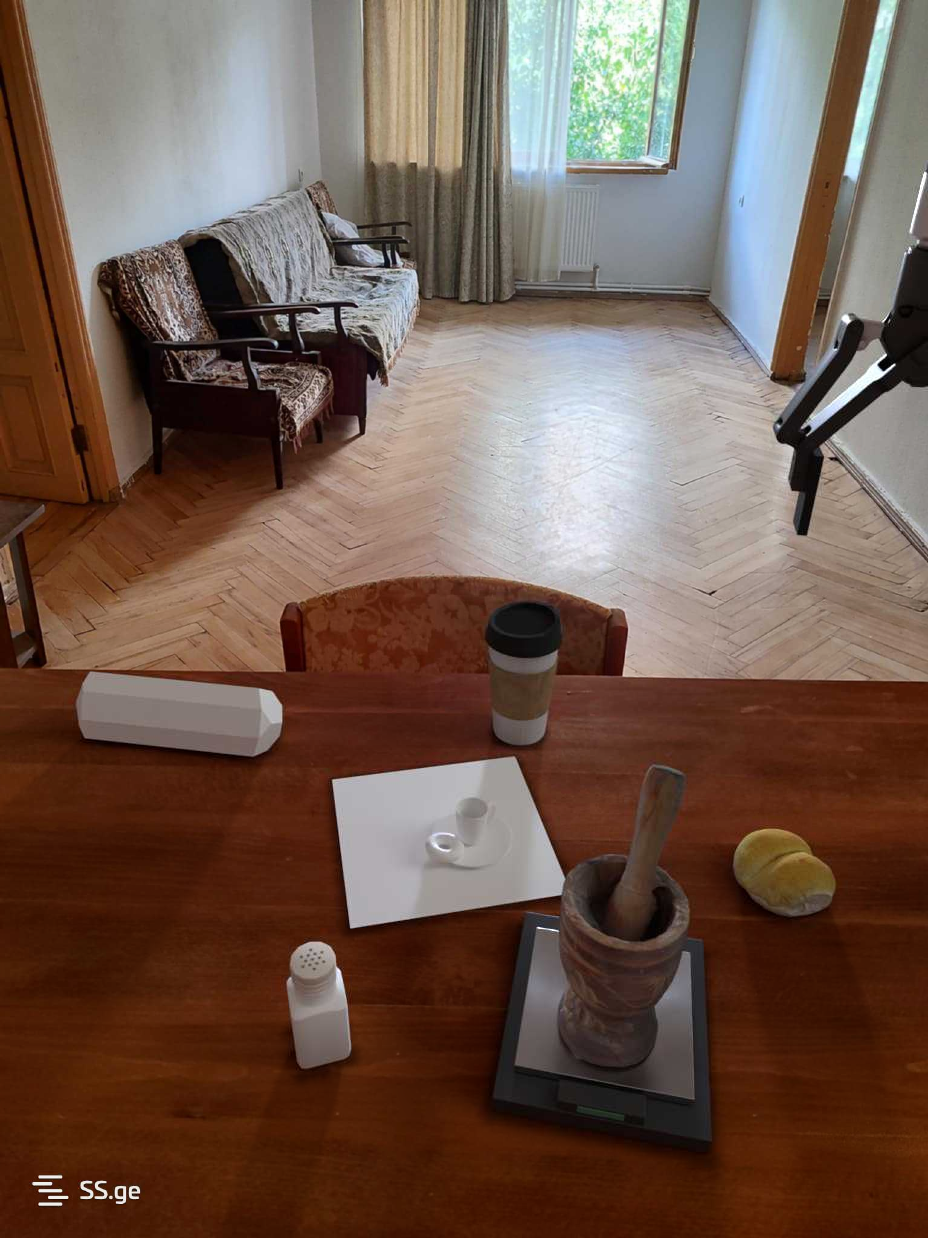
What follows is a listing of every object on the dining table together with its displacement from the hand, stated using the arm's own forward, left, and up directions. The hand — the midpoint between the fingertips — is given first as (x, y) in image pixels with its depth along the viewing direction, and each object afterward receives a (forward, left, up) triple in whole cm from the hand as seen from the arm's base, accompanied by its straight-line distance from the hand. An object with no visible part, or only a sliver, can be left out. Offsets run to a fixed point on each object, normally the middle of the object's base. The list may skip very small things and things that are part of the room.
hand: (889, 536), depth 70 cm
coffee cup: (+30, -12, -33) cm, 46 cm away
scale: (+18, +24, -33) cm, 44 cm away
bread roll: (+3, +6, -33) cm, 34 cm away
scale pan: (+18, +24, -31) cm, 43 cm away
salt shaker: (+39, +30, -33) cm, 59 cm away
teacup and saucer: (+35, +6, -33) cm, 48 cm away
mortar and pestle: (+18, +24, -30) cm, 43 cm away
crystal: (+67, -4, -33) cm, 75 cm away
